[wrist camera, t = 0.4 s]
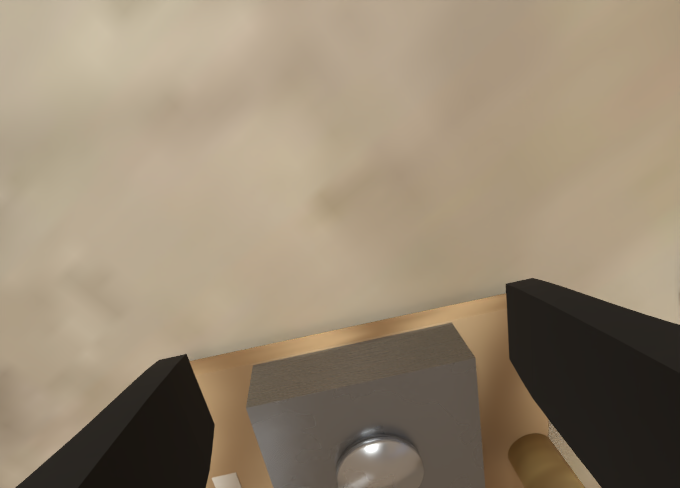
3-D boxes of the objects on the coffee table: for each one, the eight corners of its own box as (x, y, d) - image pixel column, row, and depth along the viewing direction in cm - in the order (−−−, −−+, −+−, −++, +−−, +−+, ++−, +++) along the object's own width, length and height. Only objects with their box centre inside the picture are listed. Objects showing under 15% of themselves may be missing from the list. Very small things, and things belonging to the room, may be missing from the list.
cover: (451, 322, 18) (481, 366, 15) (465, 467, 21) (492, 526, 18) (252, 365, 18) (244, 418, 15) (297, 505, 21) (297, 570, 18)
